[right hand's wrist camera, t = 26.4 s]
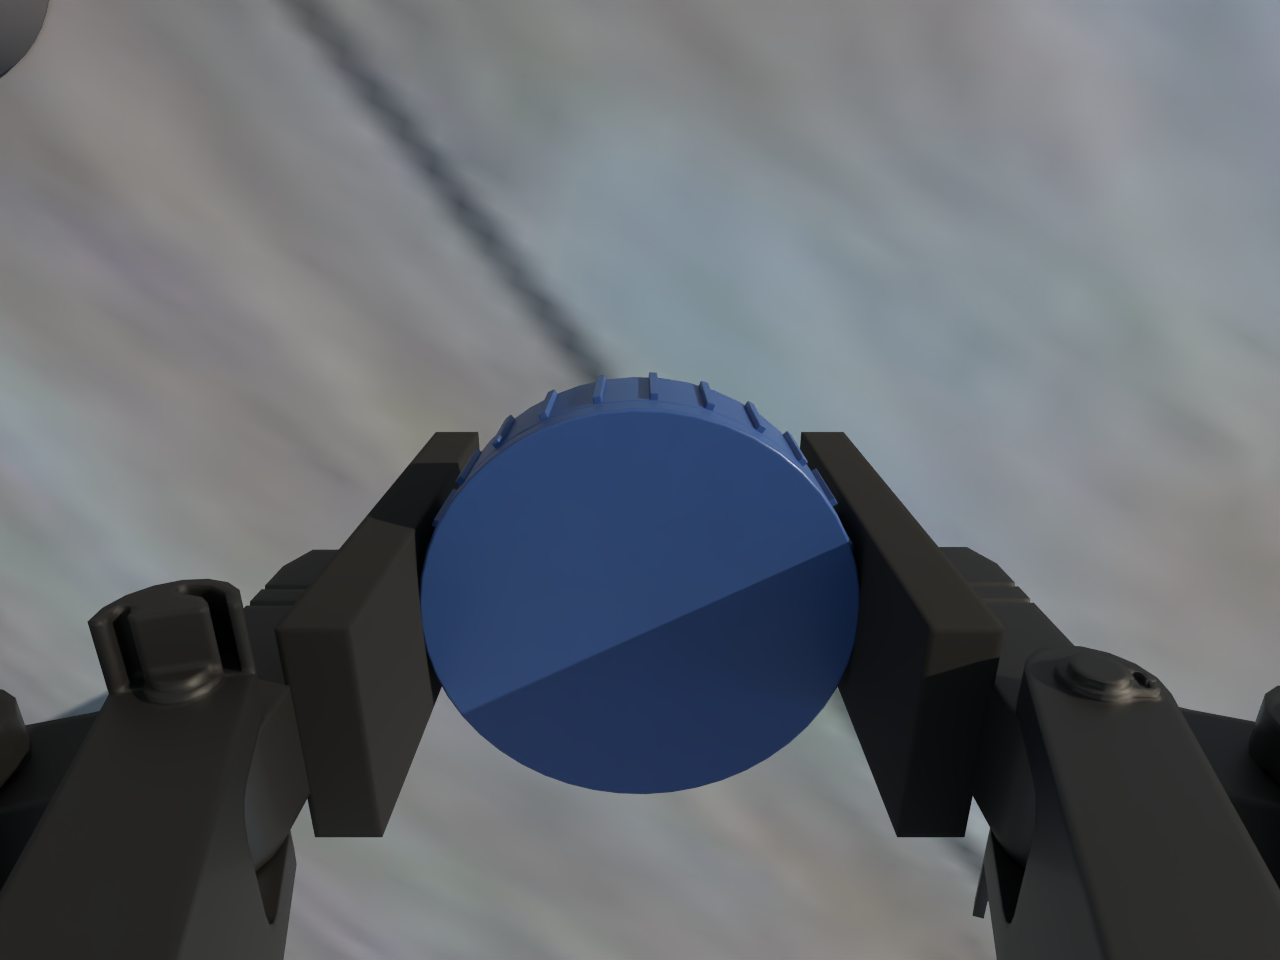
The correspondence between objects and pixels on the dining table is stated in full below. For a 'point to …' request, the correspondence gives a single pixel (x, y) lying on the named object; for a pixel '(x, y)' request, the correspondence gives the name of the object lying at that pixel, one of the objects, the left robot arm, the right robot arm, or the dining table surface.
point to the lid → (639, 588)
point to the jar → (19, 28)
